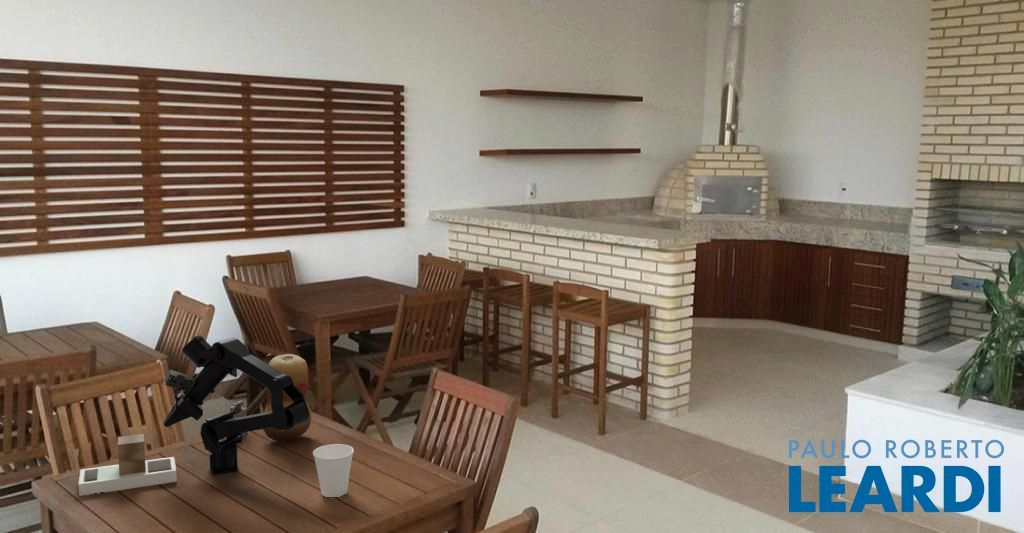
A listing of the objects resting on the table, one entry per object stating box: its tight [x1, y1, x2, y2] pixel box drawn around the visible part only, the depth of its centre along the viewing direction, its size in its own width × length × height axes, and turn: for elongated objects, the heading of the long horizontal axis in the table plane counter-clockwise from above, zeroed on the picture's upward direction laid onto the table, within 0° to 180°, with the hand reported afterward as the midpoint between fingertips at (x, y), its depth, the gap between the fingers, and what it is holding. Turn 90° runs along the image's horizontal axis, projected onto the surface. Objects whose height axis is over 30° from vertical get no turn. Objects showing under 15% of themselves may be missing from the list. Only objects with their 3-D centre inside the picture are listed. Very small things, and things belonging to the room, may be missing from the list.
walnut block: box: [117, 433, 146, 475], centre depth 209 cm, size 6×6×8 cm
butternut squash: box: [262, 353, 312, 442], centre depth 238 cm, size 14×13×25 cm
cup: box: [312, 443, 355, 498], centre depth 203 cm, size 10×10×11 cm
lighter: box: [229, 400, 248, 437], centre depth 241 cm, size 8×3×10 cm, turn 169°
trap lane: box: [77, 456, 178, 497], centre depth 209 cm, size 22×10×3 cm, turn 115°
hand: (164, 425), depth 211 cm, fingers closed
